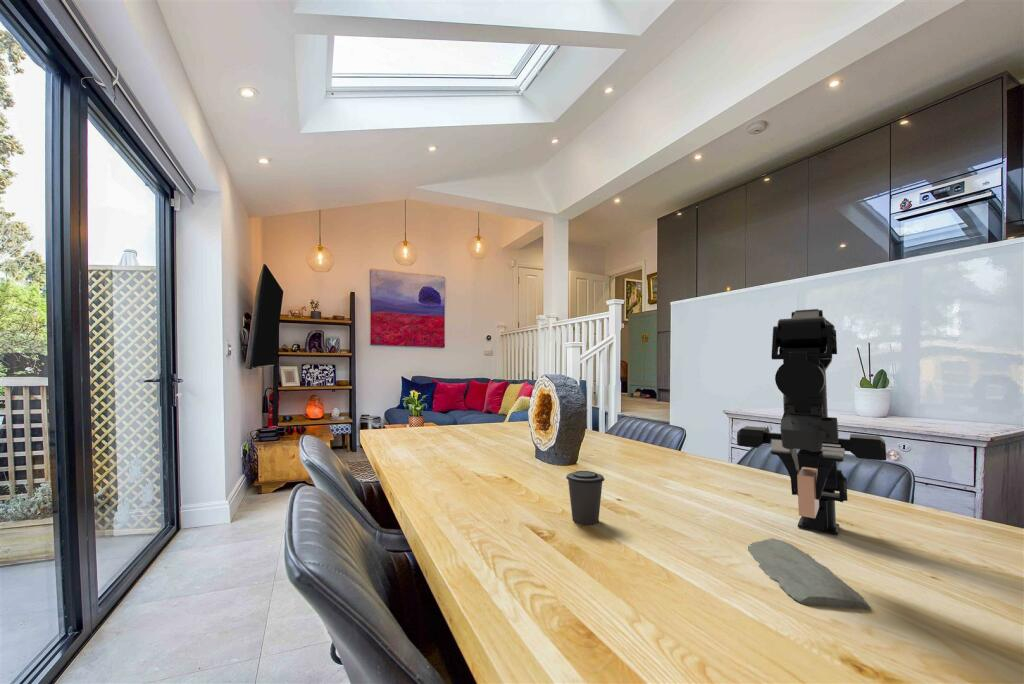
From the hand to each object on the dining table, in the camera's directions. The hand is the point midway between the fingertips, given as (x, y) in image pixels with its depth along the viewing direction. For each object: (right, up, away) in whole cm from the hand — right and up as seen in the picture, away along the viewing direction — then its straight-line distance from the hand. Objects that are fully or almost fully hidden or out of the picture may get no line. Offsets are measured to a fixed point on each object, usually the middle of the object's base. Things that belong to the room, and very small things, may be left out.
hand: (808, 497), depth 66 cm
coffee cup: (-31, -14, +23) cm, 41 cm away
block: (0, -2, 0) cm, 2 cm away
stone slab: (-2, -13, +1) cm, 13 cm away
